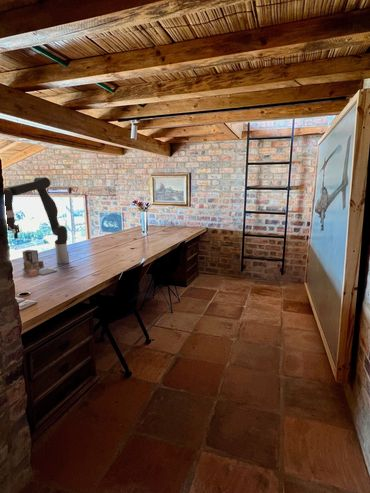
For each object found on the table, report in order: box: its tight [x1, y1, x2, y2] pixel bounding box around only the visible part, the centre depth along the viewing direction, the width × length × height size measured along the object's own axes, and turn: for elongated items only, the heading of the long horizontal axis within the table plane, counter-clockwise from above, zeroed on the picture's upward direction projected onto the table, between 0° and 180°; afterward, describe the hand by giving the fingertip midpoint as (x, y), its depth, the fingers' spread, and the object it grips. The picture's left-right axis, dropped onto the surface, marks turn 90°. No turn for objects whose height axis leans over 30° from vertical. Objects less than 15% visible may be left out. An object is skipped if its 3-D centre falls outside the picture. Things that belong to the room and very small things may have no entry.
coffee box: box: [22, 249, 40, 272], centre depth 223 cm, size 9×6×16 cm
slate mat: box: [37, 268, 58, 276], centre depth 219 cm, size 12×12×1 cm
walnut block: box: [38, 259, 44, 269], centre depth 234 cm, size 5×5×5 cm
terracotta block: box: [28, 269, 39, 277], centre depth 212 cm, size 4×4×4 cm
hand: (11, 238), depth 207 cm, fingers open, 8 cm apart
